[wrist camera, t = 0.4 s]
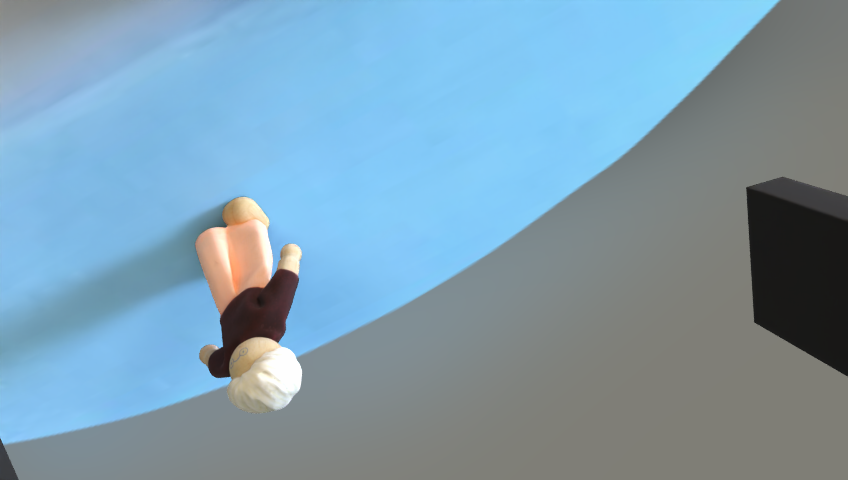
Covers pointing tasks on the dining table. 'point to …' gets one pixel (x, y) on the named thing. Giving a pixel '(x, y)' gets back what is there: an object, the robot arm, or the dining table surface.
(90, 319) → the dining table surface
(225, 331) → the grandmother figurine
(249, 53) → the dining table surface
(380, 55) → the dining table surface
